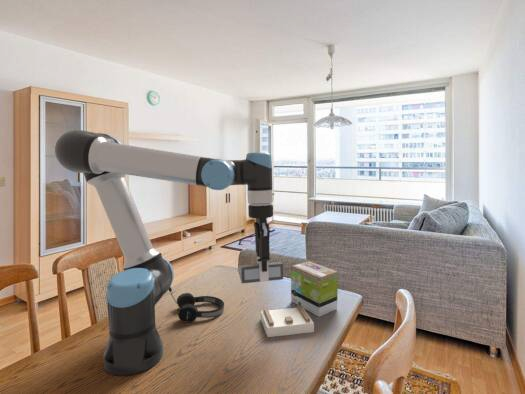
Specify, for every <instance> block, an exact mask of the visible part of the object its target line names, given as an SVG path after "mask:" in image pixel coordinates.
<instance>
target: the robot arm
mask: <svg viewBox="0 0 525 394" xmlns="http://www.w3.org/2000/svg"><path fill="white" fill-rule="evenodd" d="M54 154H55V157H56V160H57V161H58V163H59V164H60V165H61V166H62V167H63V168H65V170H68V171H70V172H72V173H78V174H79V173H80V174H83V176H84V178H85V181H86V183H87V184H89V185H91V186H93V187H94V188H95V190H96V193H97V195H98V197H99V199H100V201H101V204H102V207H103V209H104V211H105V213H106V216H107V219H108V220H109V223H110V226H111V228H112V231H113V233H114V235H115V237H116V240H117V243H118V245H119V247H120V250H121V252H122V254H123V256H124V260H125V261H124V263H123V266H122V269H123V271H120V272H117V273H115V274H114V275H113V276H111V277H110V278H109V280H108V282H107V284H106V294H105V299H106V306H107V323H108V334H109V336H108V339H107V343H106V346H105V350H104V353H103V358H102V359H103V368H104V370H105V371H106V373H108V374H111V375H114V376H124V377H125V376H131V375H136V374H139V373H141V372H144V371H146V370H149V369H151V368H152V367H153V366H155V365H156V364H157V363H158V362H159V361H160V360H161V359H162V357H163V355H164V344H163V340H162V338H161V336H160V333H159V331H158V329H157V326H156V311H155V310H156V309H155V308H156V305H157V303H158V302H159V301H160V300H161V299H162V298H163V297H164V295H165V294H166V293H167V292H169V288H170V287H171V286H172V284H173V282H174V276H175V275H174V274H175V272H174V268H173V266H172V264H171V263H170V261H168V259H165V258H164V257H163V256H162V253H161V251H160V250H158V249H155V248H154V247H153V244H152V241H151V239H150V237H149V234H148V232H147V229H146V227H145V225H144V222H143V220H142V216H141V215H140V213H139V209H138V207H137V204H136V202H135V200H134V198H133V195H132V192H131V190H130V188H129V185H128V183H127V181H126V175H127V176H133V177H134V176H135V177H141V178H148V179H153V180H162V181H167V182H174V183H180V184H186V185H191V186H192V185H194V186H198V187H205V188H208V189H211V190H214V191H223V190H225V189H227V188H228V187H230V186H245V185H246V186H247V189H246V190H247V203H248V204H249V205H248V206H247V207H248V209H247V210H248V217H249V218H251V219H255V221H254V222H253V229H254V239H255V240H254V241H255V253H256V261H257V262H256V264H259V277H260V282H259V283H261V282H269V273H268V263H269V261H270V259H271V257H270V254H271V253H270V235H271V234H270V233H271V229H270V225H269V224H270V223H269V222H268V220H267V219H268V218H272V217H273V216H274V205H273V204H272V203H273V202H274V198H273V196H275V192H273V164H272V163H273V162H272V155H271V153H269V152H263V151H262V152H259V151H258V152H248V153H246V156H245V158H244V159H238V160H237V159H235V160H234V159H233V160H232V159H226V160H225V159H219V158H212V157H205V156H204V157H203V156H198V155H192V154H185V153H181V152H172V151H166V150H160V149H154V148H149V147H141V146H135V145H129V144H123V143H121V141H120V140H119V139H117V137H116V138H115V137H113V136H111V135H109V134H106V133H101V132H99V133H98V132H97V133H96V132H92V131H88V130H82V129H76V130H75V129H74V130H70V131H67V132H65V133H63V134H62V135H61V136H59V137H58V139H57V140H56V142H55V146H54Z"/></svg>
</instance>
